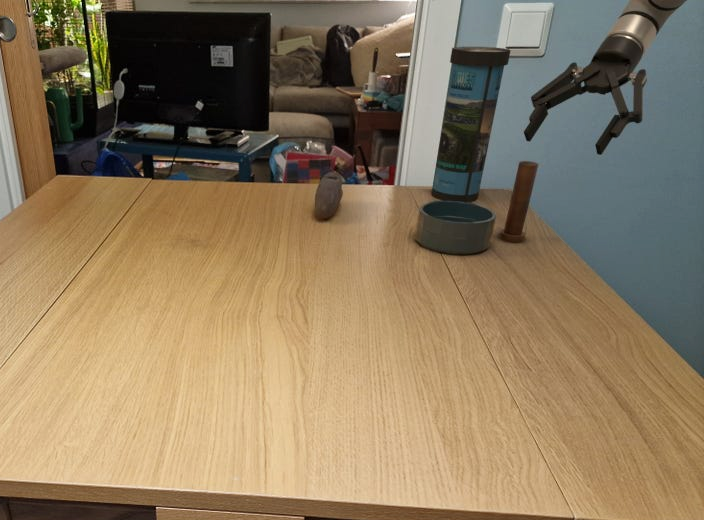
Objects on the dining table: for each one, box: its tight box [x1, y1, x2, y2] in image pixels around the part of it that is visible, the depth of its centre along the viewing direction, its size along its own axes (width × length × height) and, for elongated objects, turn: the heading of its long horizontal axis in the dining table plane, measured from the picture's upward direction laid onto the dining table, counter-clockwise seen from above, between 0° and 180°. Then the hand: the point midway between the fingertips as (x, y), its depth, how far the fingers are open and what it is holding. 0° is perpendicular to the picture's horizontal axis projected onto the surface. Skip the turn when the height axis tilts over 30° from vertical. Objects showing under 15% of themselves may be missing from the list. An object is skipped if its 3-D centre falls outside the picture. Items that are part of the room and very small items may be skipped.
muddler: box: [498, 160, 539, 243], centre depth 121 cm, size 4×4×14 cm
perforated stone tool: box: [314, 171, 344, 219], centre depth 136 cm, size 15×5×7 cm, turn 162°
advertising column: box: [431, 46, 512, 203], centre depth 141 cm, size 11×11×30 cm
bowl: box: [414, 200, 497, 256], centre depth 121 cm, size 13×13×6 cm
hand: (561, 143), depth 122 cm, fingers open, 13 cm apart
